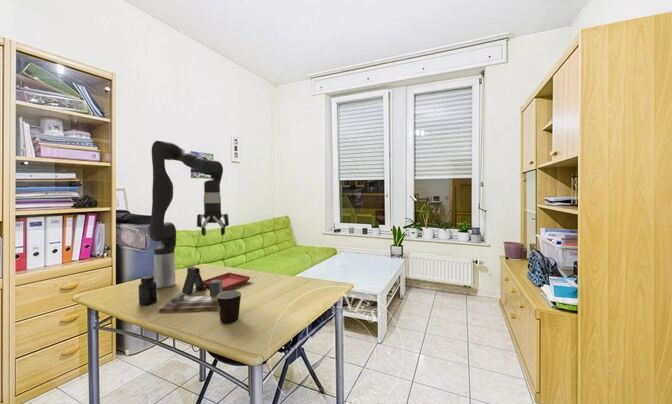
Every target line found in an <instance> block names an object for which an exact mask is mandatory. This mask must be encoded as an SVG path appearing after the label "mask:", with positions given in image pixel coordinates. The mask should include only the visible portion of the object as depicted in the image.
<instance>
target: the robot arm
mask: <svg viewBox="0 0 672 404" xmlns="http://www.w3.org/2000/svg"><path fill="white" fill-rule="evenodd" d="M165 161H179V162H181V163H182V164H183V165H185V166H187V167H189V168H191V169H193V170H195V171H197V172H198V173H200V174H203V175H206V176H210V177H209V179H208V180H205V181H204V182H203V183H204V184H203V188H204V189H203V192H204V193H203V194H204V195H203V211H204V213H203V214H201V213H199V214H197V215H196V227H197V228H200V229H201V230H200V232H201V236H203V237H204V236H205V237H206V235H207V231H206V230H207V228H206V226H208V224H218V225H219V227H220V236H224V235H225V233H226V227H228V226H229V225H230V221H229V214H228V213H224V214H223V213H222V203H221V202H222V198H221V182H222V177H223V173H224V168H223V164H222V163H221V162H220V161H219V160H218V161H217V160H209V159H206V158H205V157H203V156H201V155H199V154H196V153H193V152H190V151H187V150H185V149H183V148H181V147H180V146H178V145H177V144H176V143H173V142H170V141H164V140H155V141H154V142H153V143H152V146H151V162H152V163H151V165H152V186H151V187H152V189H151V190H152V191H151V192H152V194H151V195H152V198H151V199H152V204H151V216H150V223H149V228H148V229H149V231H148V232H149V237H150V239H151V240H152V241H154V242H160V243H159V244H158V245H157V246H156V247H155V248H154V250H153V258H154V259H153V260H154V261H153V262H154V268H153V269H152V276H154V280H153V281H155V282H156V283H157V289H163V288H164V289H165V288H168V287H173V286H175V285H176V260H175V259H176V257H175V248H176V246H177V227H176V226H175V224H174V223H173V222H171V221H170V222H169V221H165V216H166V212H167V210H168V209H169V206H170V205H171V203H172V201H173V198H174V185H173V184H174V183H173V182H172V179H171V178H170V176H169V174H168V173H167V170H166V164H165V163H166V162H165ZM203 218H204V219H205V220H204V221H203V222H202V219H203ZM222 218H223V219H224V221H223V220H222Z"/></svg>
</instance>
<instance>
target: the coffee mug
mask: <svg viewBox="0 0 672 404" xmlns="http://www.w3.org/2000/svg"><path fill="white" fill-rule="evenodd" d="M241 295H242V292H241V291H239V290H226V291H222V293H220V294H218V295H217V300H218V306H219V310H218V312H219V318H220V323H221V324H223V325H231V324H234V323H236V322H238V321H239V319H240V310H241V308H240V307H241V297H242V296H241Z"/></svg>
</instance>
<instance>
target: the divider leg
mask: <svg viewBox="0 0 672 404" xmlns="http://www.w3.org/2000/svg"><path fill="white" fill-rule="evenodd" d="M222 292H223V291H222V280H212V281H211V282H210V287H209V296H210V297H211V301H217V295H218V294H220V293H222Z"/></svg>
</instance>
